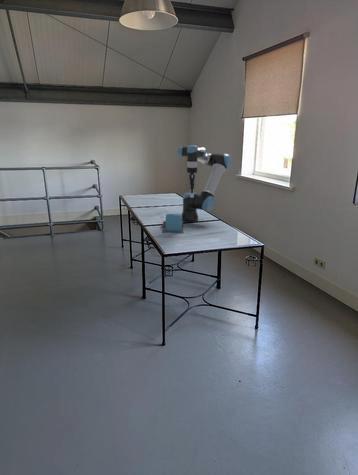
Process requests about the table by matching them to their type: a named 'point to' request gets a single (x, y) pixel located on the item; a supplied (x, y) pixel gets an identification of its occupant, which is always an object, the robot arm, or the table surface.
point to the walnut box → (165, 224)
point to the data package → (173, 222)
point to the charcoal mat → (171, 231)
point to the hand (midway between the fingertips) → (191, 195)
